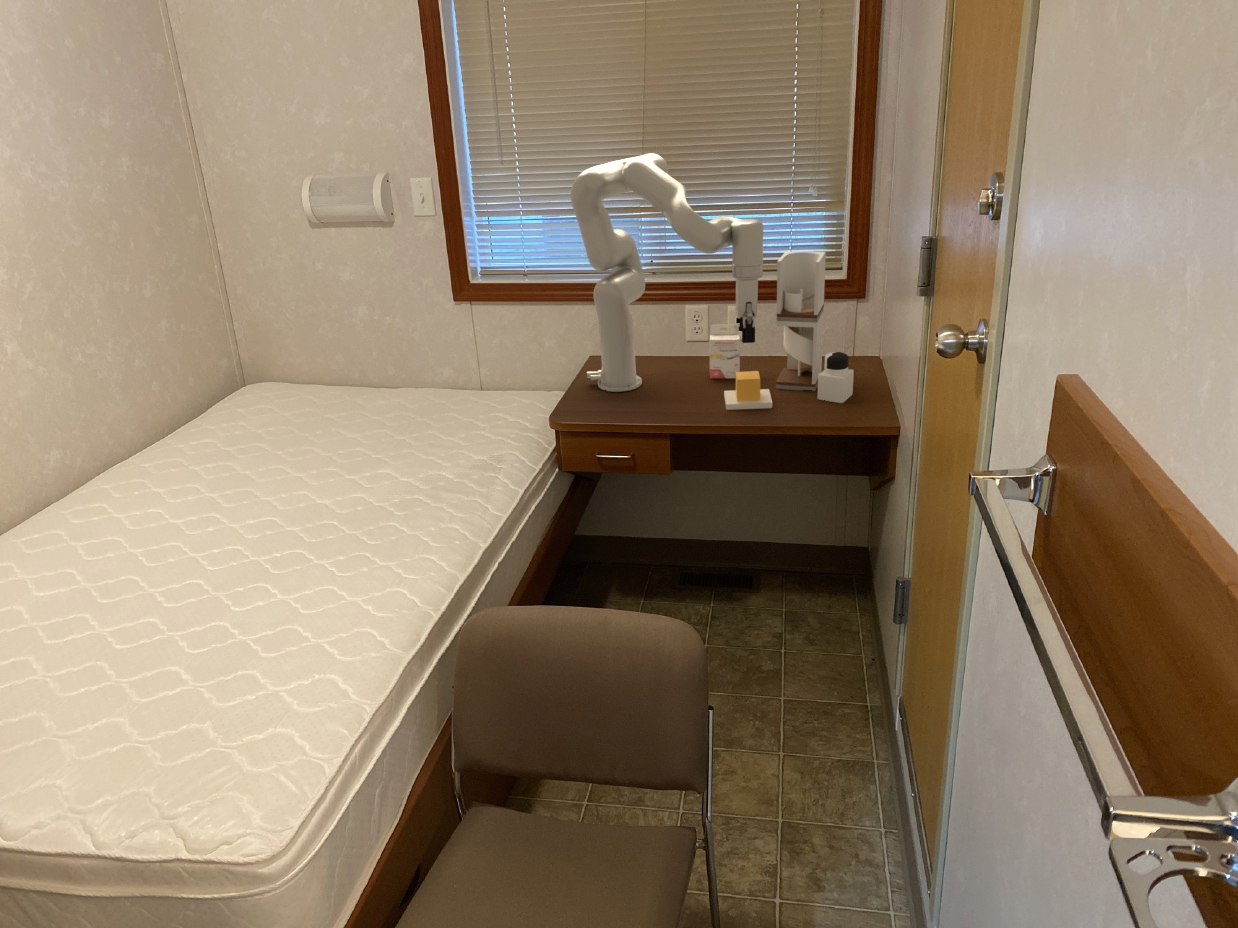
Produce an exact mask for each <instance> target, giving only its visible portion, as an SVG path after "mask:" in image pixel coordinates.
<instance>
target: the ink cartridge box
mask: <svg viewBox="0 0 1238 928" xmlns="http://www.w3.org/2000/svg"><path fill="white" fill-rule="evenodd" d="M709 326H710V327H709V329H710V334H709V379H736V372H741V370H740V368H741V364H740V363H741V358H740V357H741V353H740V352H741V350H740V348H741V342H740V341H741V340H740V339H741V337H740V333H739V331H740V324H739V323H738V324H737V323H726V324H723V323H722V324H720V323H719V324H710V325H709ZM723 328H725V329H723ZM721 329H723V330H721ZM726 329H727V330H726ZM728 329H729V330H728Z"/></svg>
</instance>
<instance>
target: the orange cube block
mask: <svg viewBox="0 0 1238 928" xmlns="http://www.w3.org/2000/svg"><path fill="white" fill-rule="evenodd" d="M760 376H761V375H760V373H759V371H758V370H752V371H740V372H736V378H735V390H736V398H737V401H758V400H760V389H761V377H760Z"/></svg>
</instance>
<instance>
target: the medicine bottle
mask: <svg viewBox="0 0 1238 928" xmlns="http://www.w3.org/2000/svg"><path fill="white" fill-rule="evenodd" d="M823 366H824V369H823V370H822V372H821V373H820V374H819V375H818V386H817V398H816V399H817V400H820V401H824V400H825V401H824V402H830V403H838V404H844V403H845V402H846V401H847V400H848V399H850V398H851V397H852V395H853V392H854V391H853V390H854V373H855V372H854V369H851V368H849V355H848V354H846V353H844V352H842V351H832V352H831V351H830V352H829V353H826V354H825V356H824V365H823Z"/></svg>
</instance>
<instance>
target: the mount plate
mask: <svg viewBox="0 0 1238 928" xmlns="http://www.w3.org/2000/svg"><path fill="white" fill-rule="evenodd" d="M723 391H724V392H723V396H724V397H723V398H724V404H725V410H726V411H728V410H729V411H730V410H731V411H733V410H734V411H735V410H755V409H756V410H757V409H772V408H773V400H772V395H771V392H770V389H769V388H766V389H765V388H762V389H761V388H760V400H758V401H737V398H736V389H735V390H723Z"/></svg>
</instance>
